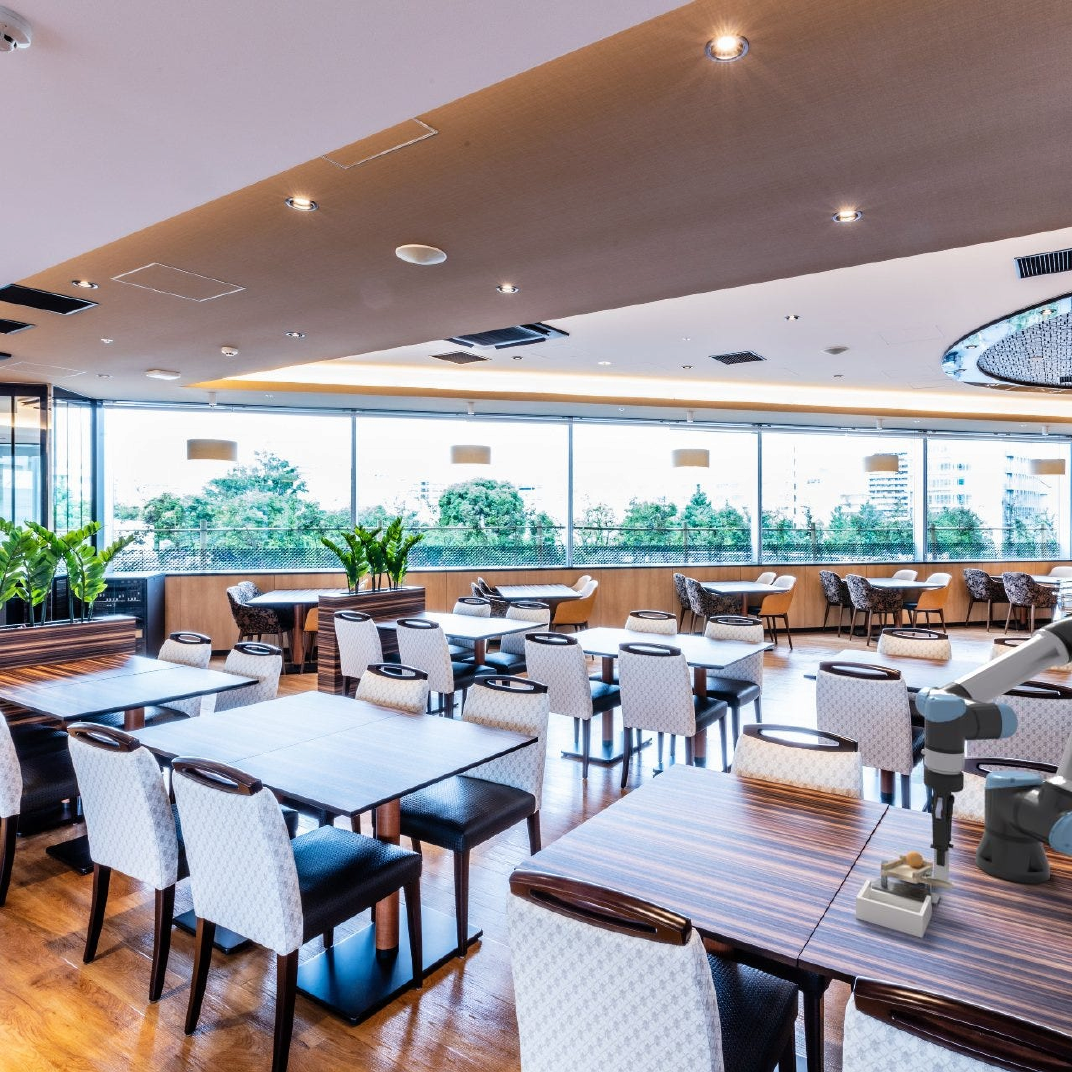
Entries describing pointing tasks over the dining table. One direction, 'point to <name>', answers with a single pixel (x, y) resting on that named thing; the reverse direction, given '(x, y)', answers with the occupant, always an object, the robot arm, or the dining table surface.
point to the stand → (906, 889)
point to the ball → (914, 859)
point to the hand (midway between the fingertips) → (941, 878)
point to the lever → (912, 873)
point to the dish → (893, 910)
